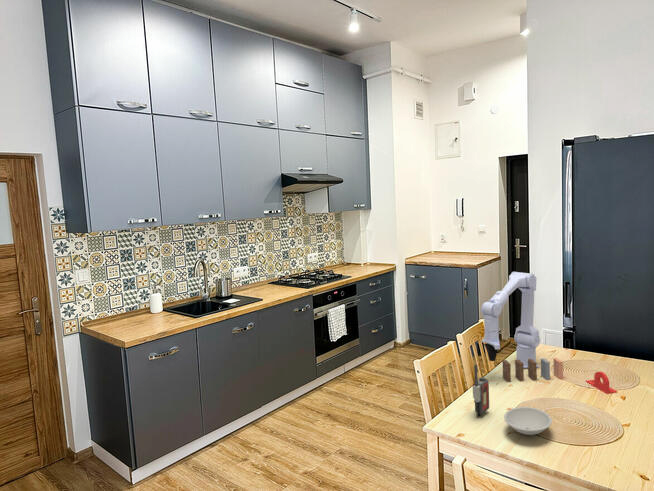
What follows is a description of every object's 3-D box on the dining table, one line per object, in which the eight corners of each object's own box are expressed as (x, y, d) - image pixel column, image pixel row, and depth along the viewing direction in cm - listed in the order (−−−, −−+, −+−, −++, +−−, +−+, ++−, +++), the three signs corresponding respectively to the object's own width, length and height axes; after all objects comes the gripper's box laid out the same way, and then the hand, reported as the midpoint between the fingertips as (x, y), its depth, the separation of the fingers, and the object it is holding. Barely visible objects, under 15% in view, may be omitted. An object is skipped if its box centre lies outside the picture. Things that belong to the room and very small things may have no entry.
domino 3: (559, 380, 189) (558, 362, 188) (553, 375, 194) (553, 358, 193) (563, 380, 189) (562, 361, 188) (557, 375, 194) (557, 357, 193)
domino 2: (533, 381, 190) (532, 363, 189) (528, 376, 195) (527, 359, 194) (536, 381, 190) (536, 362, 189) (531, 376, 195) (531, 358, 194)
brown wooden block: (507, 382, 190) (506, 364, 189) (502, 377, 195) (502, 360, 194) (510, 382, 190) (510, 364, 189) (506, 377, 195) (506, 360, 194)
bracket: (617, 394, 173) (617, 374, 173) (606, 395, 173) (606, 375, 172) (595, 382, 185) (595, 363, 185) (585, 383, 185) (585, 364, 184)
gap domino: (546, 380, 189) (545, 362, 189) (540, 376, 194) (540, 358, 194) (550, 380, 189) (549, 362, 189) (544, 376, 194) (544, 358, 194)
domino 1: (520, 381, 190) (519, 363, 189) (515, 377, 195) (515, 359, 194) (523, 381, 190) (523, 363, 189) (519, 377, 195) (518, 359, 194)
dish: (513, 416, 160) (513, 403, 160) (557, 427, 151) (557, 413, 151) (497, 437, 147) (496, 422, 147) (544, 450, 138) (543, 435, 137)
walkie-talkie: (479, 420, 159) (477, 366, 157) (467, 416, 162) (466, 363, 160) (490, 411, 165) (488, 359, 163) (478, 408, 168) (477, 356, 166)
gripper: (477, 325, 198) (477, 355, 199) (487, 335, 184) (488, 366, 185) (492, 325, 198) (493, 354, 199) (504, 334, 183) (505, 366, 185)
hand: (492, 360), depth 192 cm, fingers closed
